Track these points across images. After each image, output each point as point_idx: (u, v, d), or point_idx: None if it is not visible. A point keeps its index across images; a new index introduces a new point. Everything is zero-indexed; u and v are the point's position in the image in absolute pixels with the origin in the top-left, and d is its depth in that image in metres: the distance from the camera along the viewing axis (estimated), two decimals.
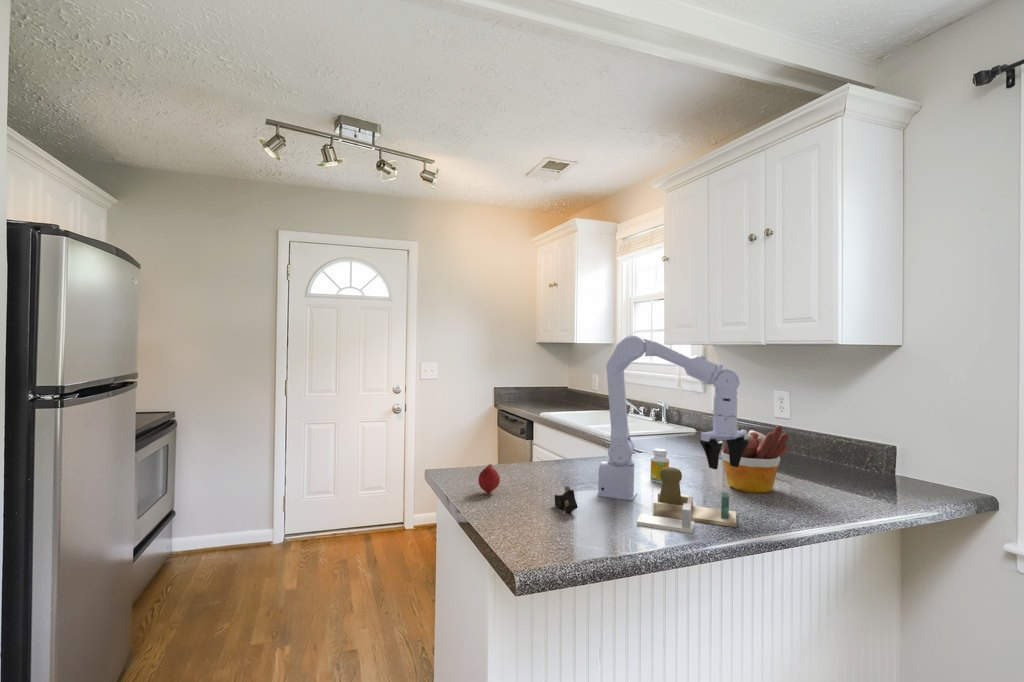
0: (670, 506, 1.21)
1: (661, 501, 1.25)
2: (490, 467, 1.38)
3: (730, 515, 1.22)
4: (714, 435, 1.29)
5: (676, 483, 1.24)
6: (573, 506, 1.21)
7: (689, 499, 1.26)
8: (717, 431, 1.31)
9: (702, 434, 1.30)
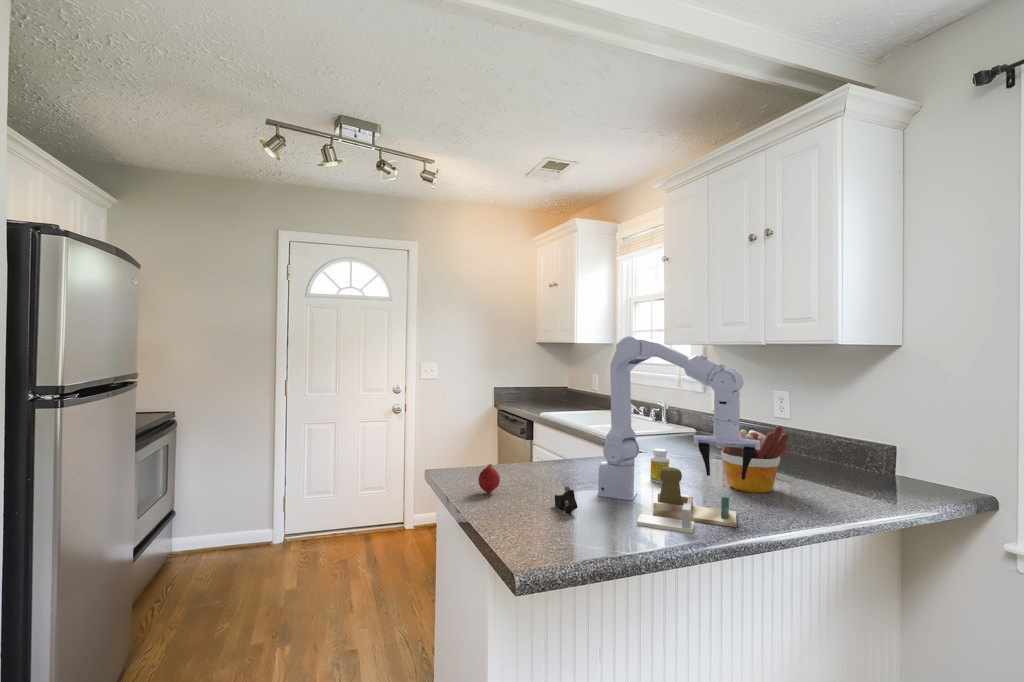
0: (670, 506, 1.21)
1: (661, 501, 1.25)
2: (490, 467, 1.38)
3: (730, 515, 1.22)
4: (703, 438, 1.22)
5: (676, 483, 1.24)
6: (573, 506, 1.21)
7: (689, 499, 1.26)
8: (713, 436, 1.22)
9: (694, 436, 1.25)
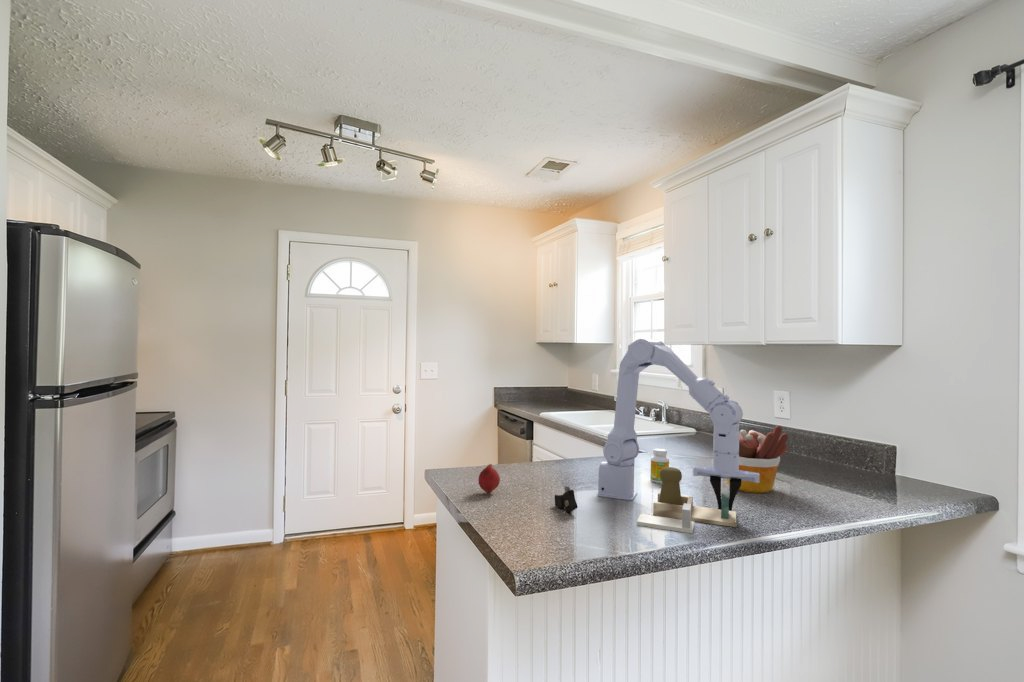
0: (670, 506, 1.21)
1: (661, 501, 1.25)
2: (490, 467, 1.38)
3: (730, 515, 1.22)
4: (702, 470, 1.22)
5: (676, 483, 1.24)
6: (573, 506, 1.21)
7: (689, 499, 1.26)
8: (712, 467, 1.22)
9: None
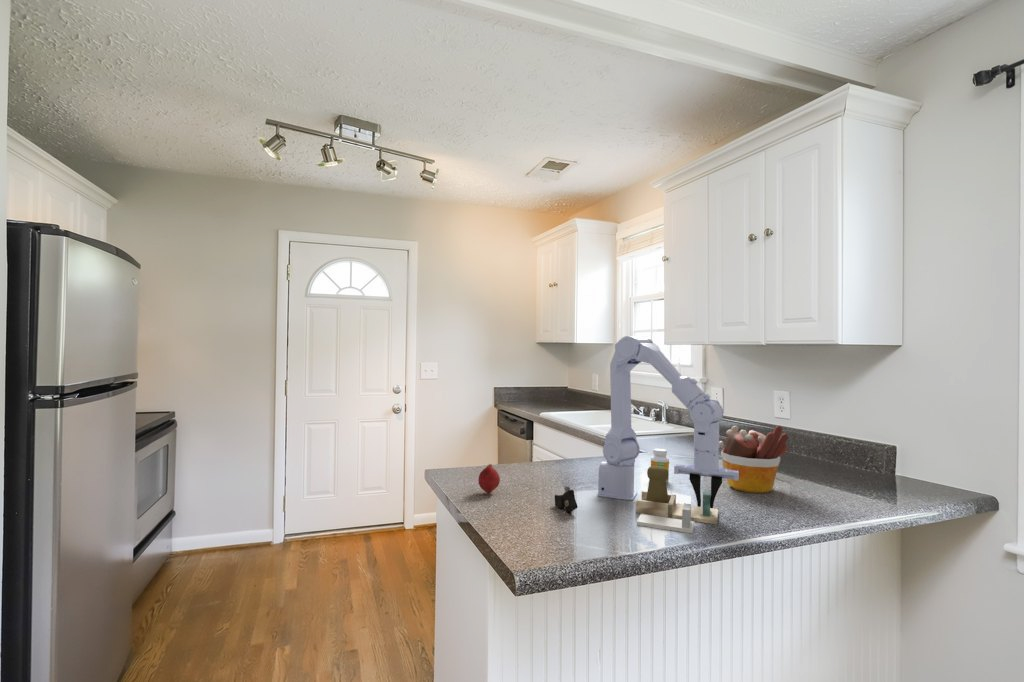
0: (652, 504, 1.23)
1: (648, 499, 1.26)
2: (490, 467, 1.38)
3: (712, 512, 1.23)
4: (683, 468, 1.24)
5: (663, 481, 1.25)
6: (573, 506, 1.21)
7: (672, 497, 1.28)
8: (693, 465, 1.24)
9: None
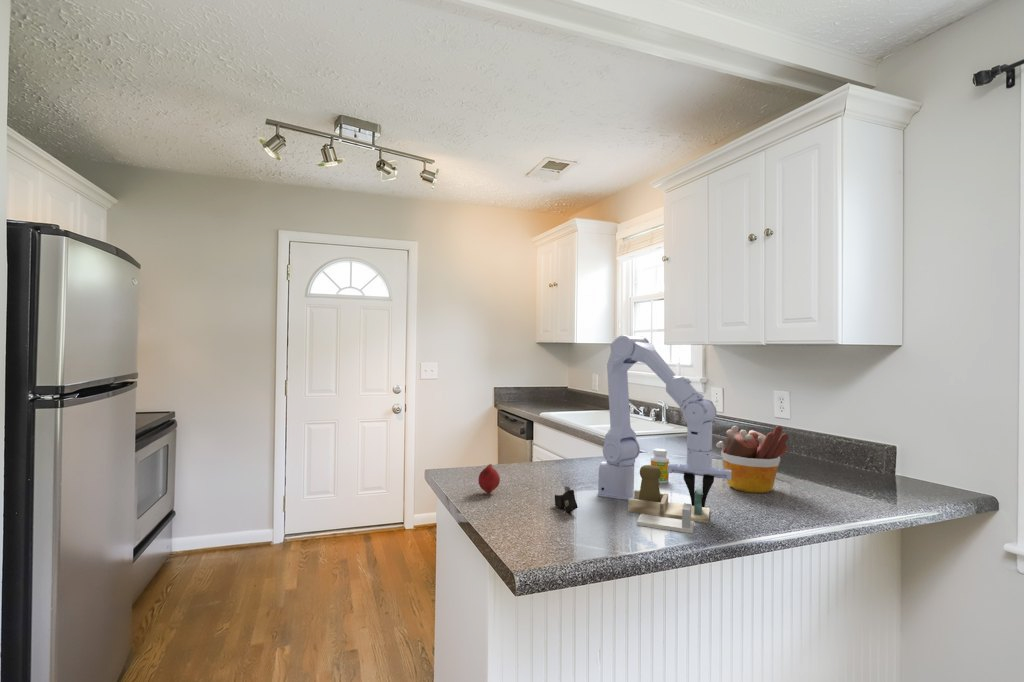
0: (644, 503, 1.23)
1: (640, 498, 1.27)
2: (490, 467, 1.38)
3: (704, 511, 1.24)
4: (676, 468, 1.24)
5: (655, 480, 1.26)
6: (573, 506, 1.21)
7: (664, 496, 1.29)
8: (686, 465, 1.24)
9: (668, 465, 1.27)
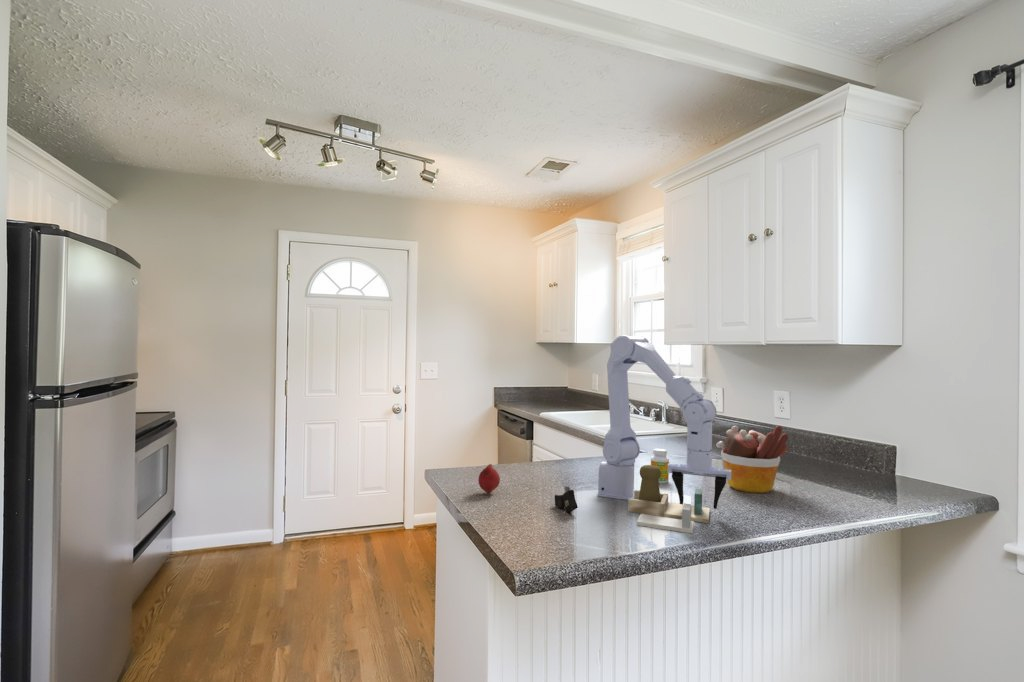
0: (644, 503, 1.23)
1: (640, 498, 1.27)
2: (490, 467, 1.38)
3: (704, 511, 1.24)
4: (676, 468, 1.24)
5: (655, 480, 1.26)
6: (573, 506, 1.21)
7: (664, 496, 1.29)
8: (686, 465, 1.24)
9: (668, 465, 1.27)
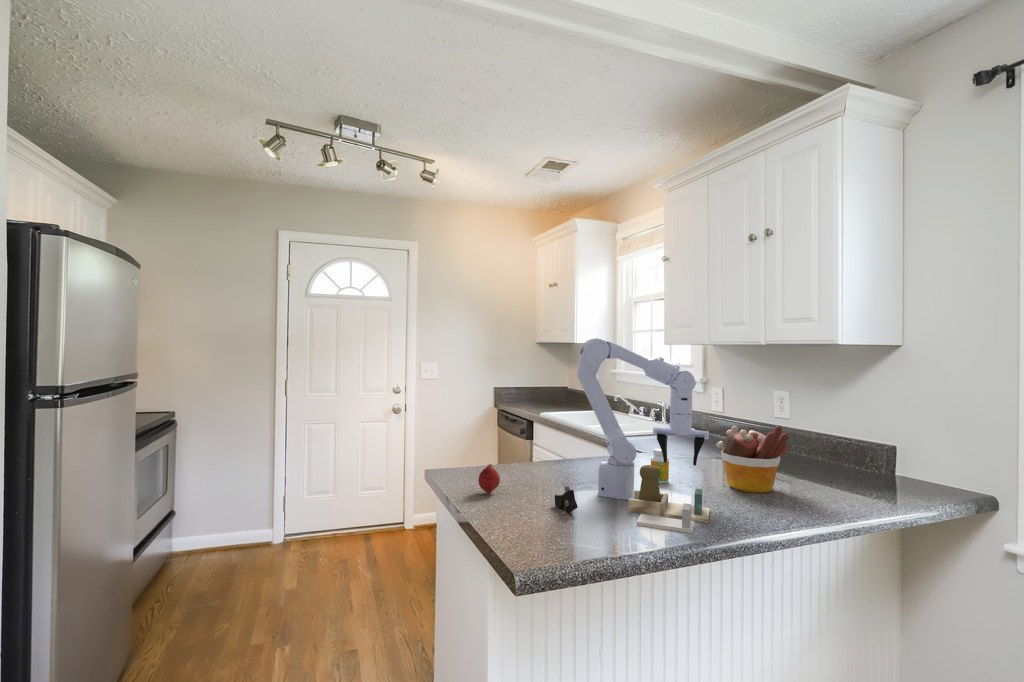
0: (644, 503, 1.23)
1: (640, 498, 1.27)
2: (490, 467, 1.38)
3: (704, 511, 1.24)
4: (660, 430, 1.40)
5: (655, 480, 1.26)
6: (573, 506, 1.21)
7: (664, 496, 1.29)
8: None
9: (653, 428, 1.43)
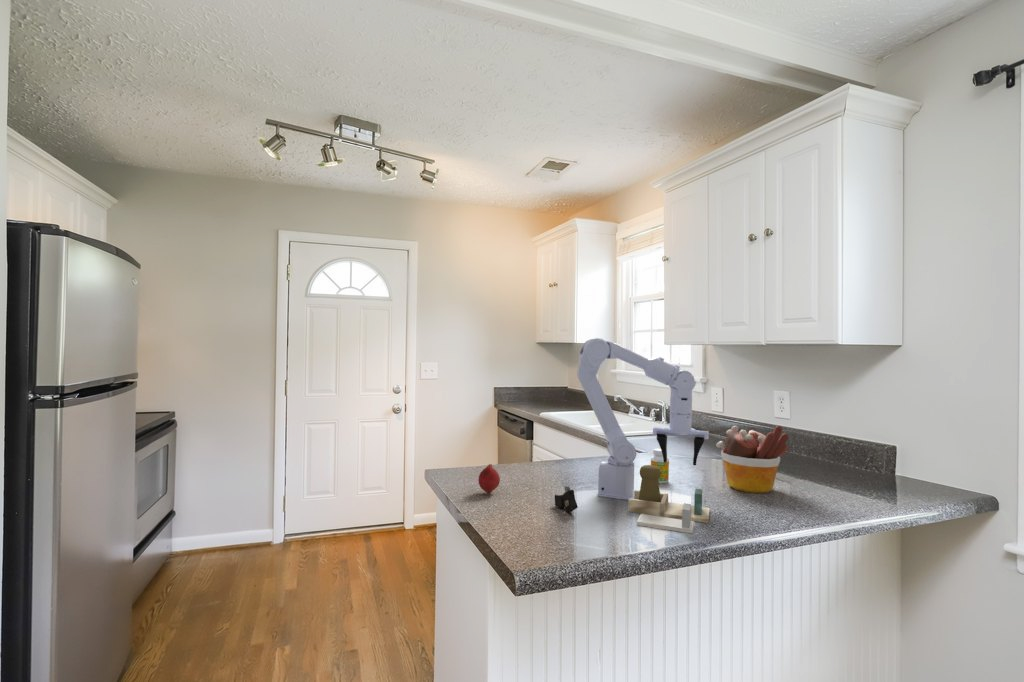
0: (644, 503, 1.23)
1: (640, 498, 1.27)
2: (490, 467, 1.38)
3: (704, 511, 1.24)
4: (660, 430, 1.40)
5: (655, 480, 1.26)
6: (573, 506, 1.21)
7: (664, 496, 1.29)
8: None
9: (653, 428, 1.43)
